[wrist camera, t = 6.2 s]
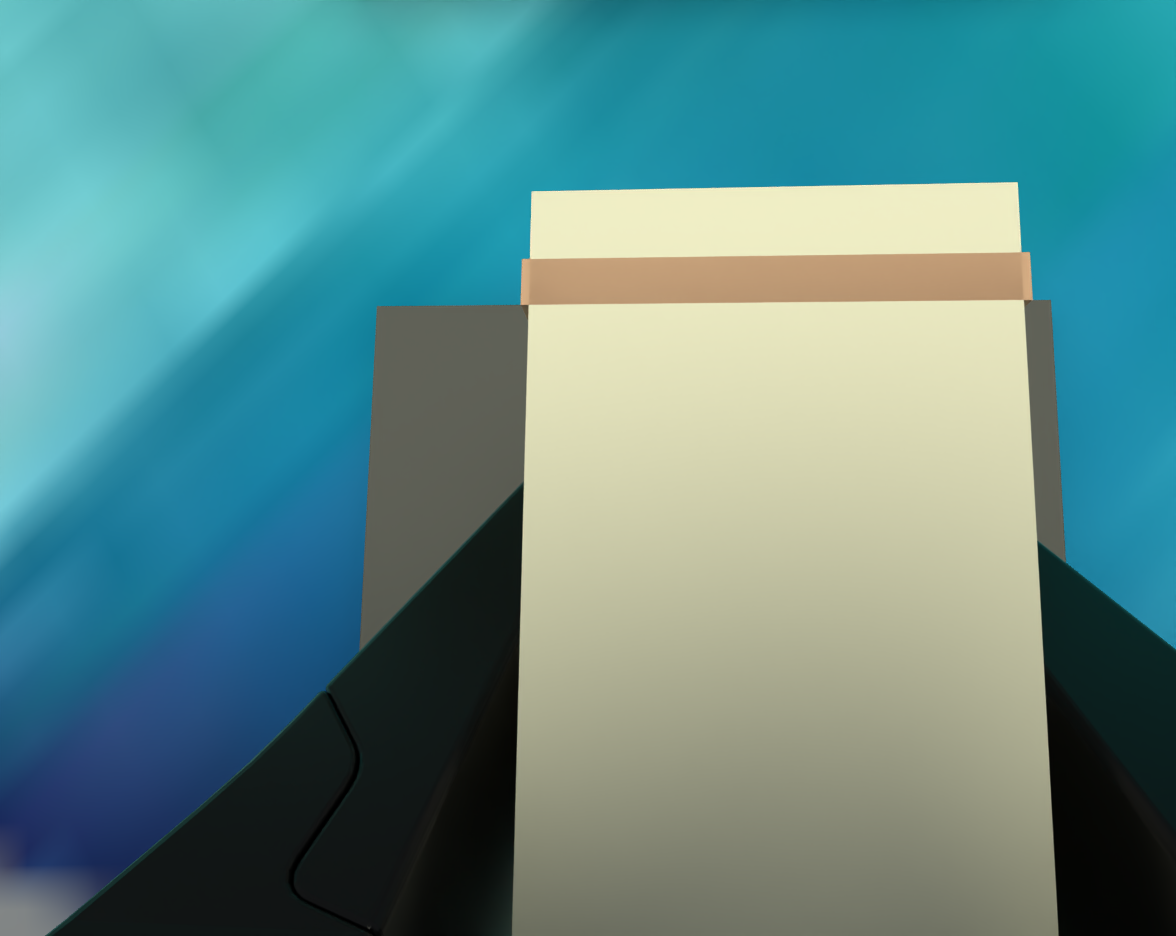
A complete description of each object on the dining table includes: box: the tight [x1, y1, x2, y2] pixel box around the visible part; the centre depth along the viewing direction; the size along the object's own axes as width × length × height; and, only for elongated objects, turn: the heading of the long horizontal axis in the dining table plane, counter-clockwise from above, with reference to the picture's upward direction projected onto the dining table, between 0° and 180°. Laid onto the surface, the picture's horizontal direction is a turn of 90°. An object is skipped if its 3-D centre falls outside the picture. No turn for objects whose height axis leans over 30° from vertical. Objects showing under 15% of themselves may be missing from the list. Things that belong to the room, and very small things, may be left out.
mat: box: [360, 300, 1066, 650], centre depth 17 cm, size 12×12×1 cm
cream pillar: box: [512, 182, 1059, 936], centre depth 11 cm, size 6×3×10 cm, turn 179°
